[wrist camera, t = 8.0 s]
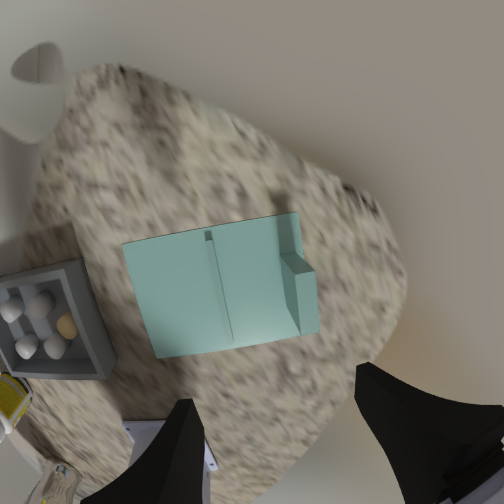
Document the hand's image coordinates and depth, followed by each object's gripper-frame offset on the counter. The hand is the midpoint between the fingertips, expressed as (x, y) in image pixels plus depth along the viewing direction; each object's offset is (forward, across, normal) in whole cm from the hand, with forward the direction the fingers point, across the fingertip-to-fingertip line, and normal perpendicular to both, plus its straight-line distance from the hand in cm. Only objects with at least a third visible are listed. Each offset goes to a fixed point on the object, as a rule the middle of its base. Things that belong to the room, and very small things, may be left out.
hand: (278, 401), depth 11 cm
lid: (+11, +2, -2) cm, 11 cm away
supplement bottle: (+11, +28, +7) cm, 31 cm away
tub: (+10, +18, -1) cm, 21 cm away
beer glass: (+11, +32, +24) cm, 41 cm away
